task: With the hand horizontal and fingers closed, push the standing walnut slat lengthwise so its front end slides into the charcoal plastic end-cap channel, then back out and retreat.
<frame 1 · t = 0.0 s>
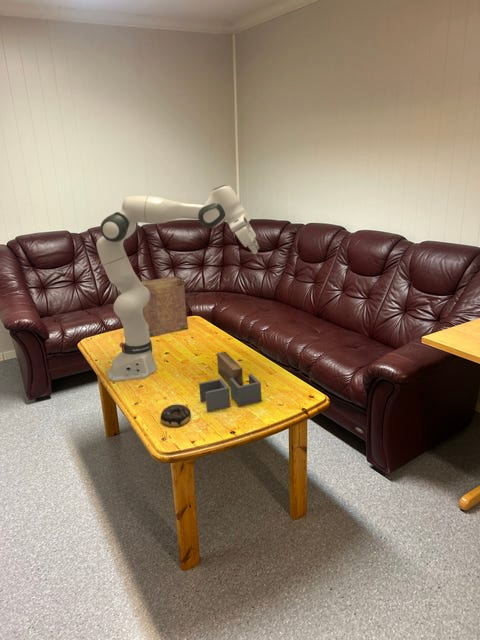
hand: (256, 251, 187), 54 cm above the table, tool tilted 30°, fingers open, 8 cm apart
book: (164, 331, 262), on the table
end cap: (245, 398, 181), on the table
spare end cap: (213, 404, 178), on the table
donut: (176, 419, 169), on the table
slat: (230, 381, 196), on the table
baseboard molding: (133, 345, 244), on the table
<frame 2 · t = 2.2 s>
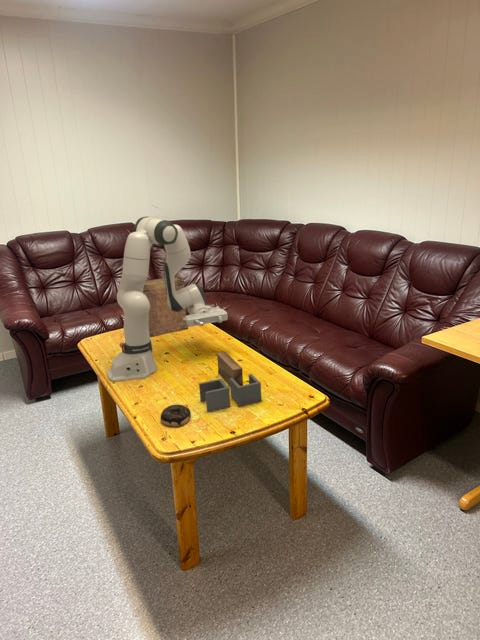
hand: (211, 322, 209), 20 cm above the table, tool horizontal, fingers open, 8 cm apart
nothing on the table moved.
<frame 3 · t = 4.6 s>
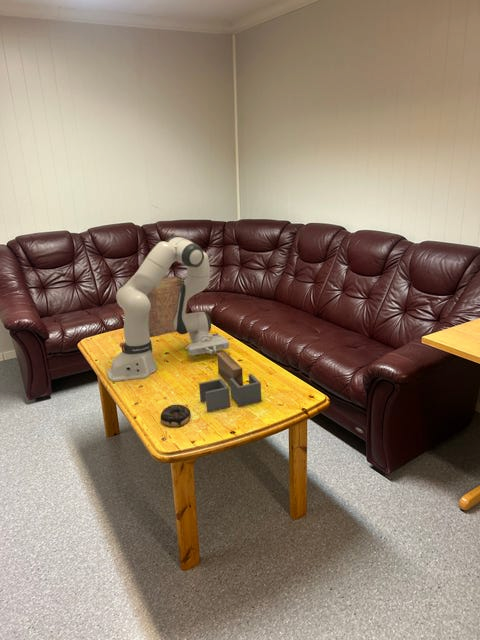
hand: (213, 352, 214), 6 cm above the table, tool horizontal, fingers closed
nothing on the table moved.
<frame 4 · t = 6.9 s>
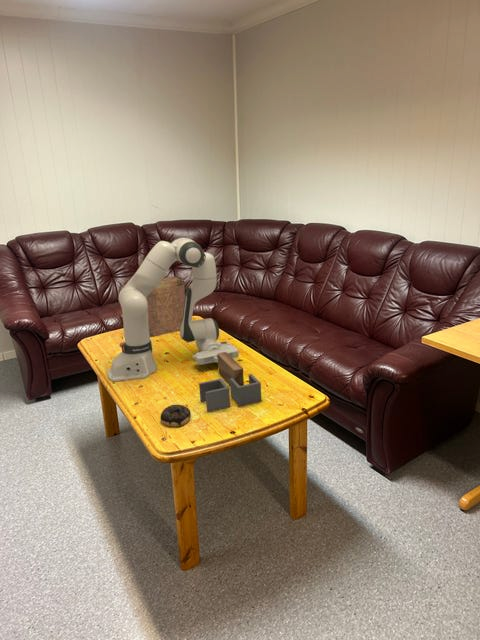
hand: (222, 361, 203), 5 cm above the table, tool horizontal, fingers closed, pressing on slat
slat: (231, 381, 196), on the table, touching gripper
everything else where it was.
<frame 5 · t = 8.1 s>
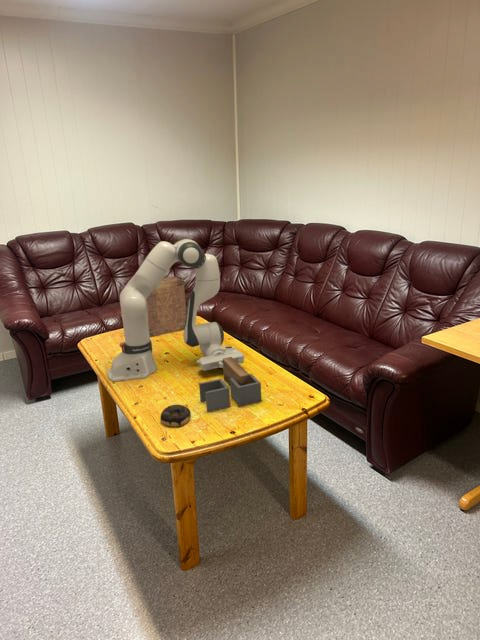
hand: (227, 367, 197), 5 cm above the table, tool horizontal, fingers closed, pressing on slat
slat: (236, 388, 190), on the table, touching gripper
everything else where it was.
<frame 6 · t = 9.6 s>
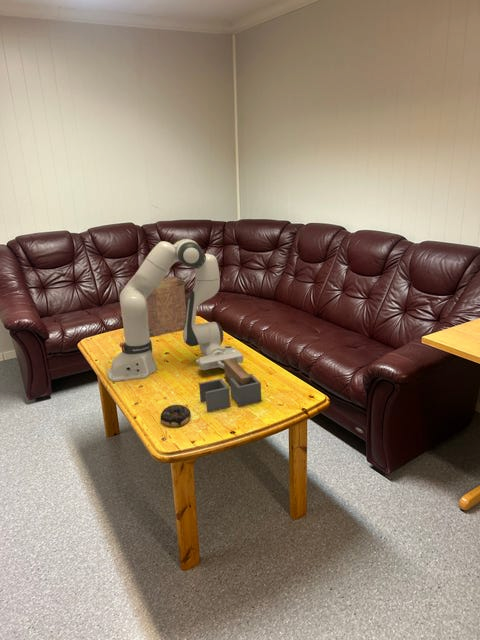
hand: (226, 366, 197), 5 cm above the table, tool horizontal, fingers closed
slat: (238, 390, 188), on the table
everything else where it was.
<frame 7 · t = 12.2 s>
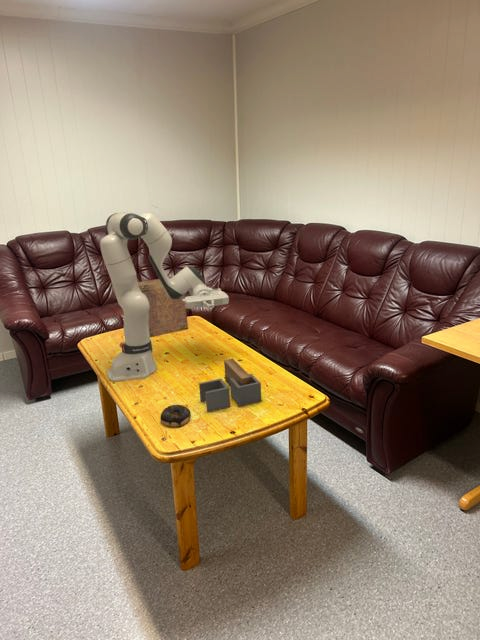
hand: (210, 306, 202), 29 cm above the table, tool horizontal, fingers closed
nothing on the table moved.
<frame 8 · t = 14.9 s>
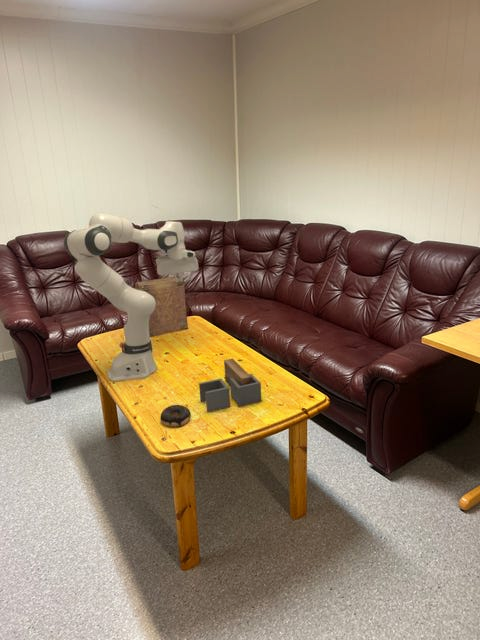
hand: (179, 281, 225), 35 cm above the table, tool pointing down, fingers closed
nothing on the table moved.
at the end: slat inside the target area (0.1 cm from its centre), on the table; slat tilted 0°; slat moved 8.9 cm from its start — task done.
